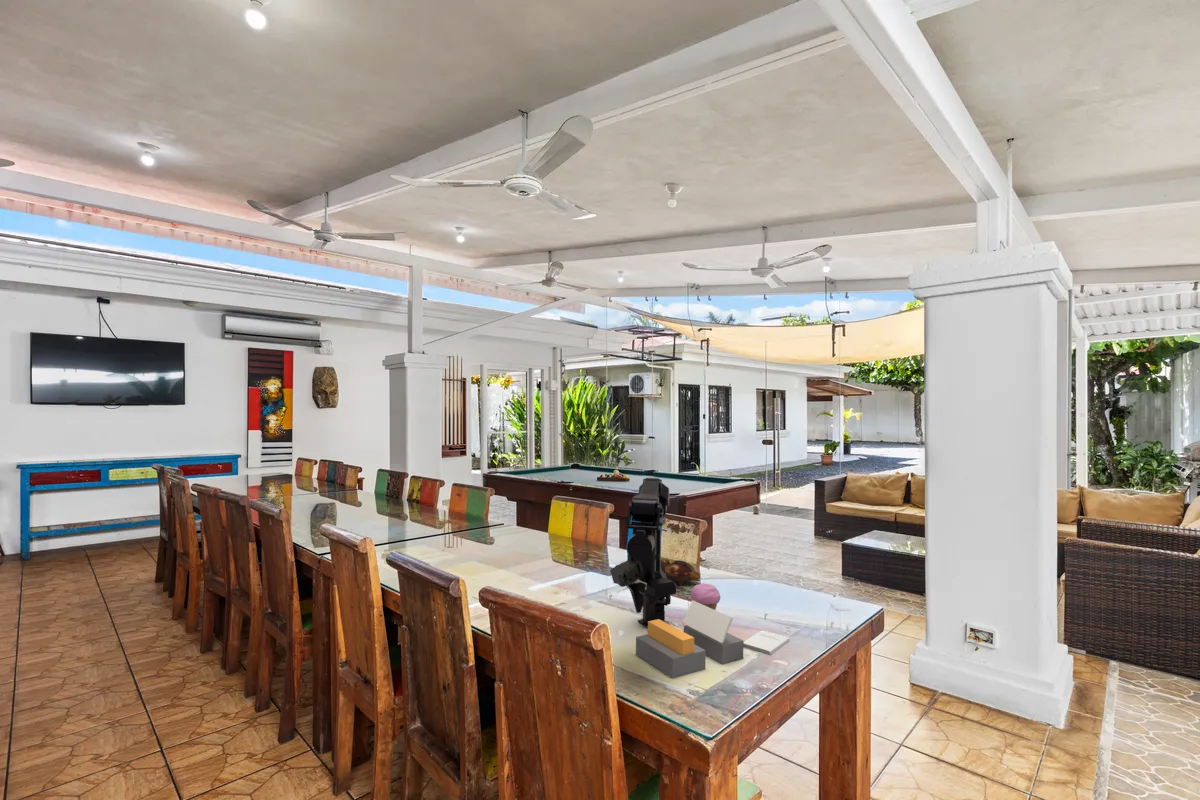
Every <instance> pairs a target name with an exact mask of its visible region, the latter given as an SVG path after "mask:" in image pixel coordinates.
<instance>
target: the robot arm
mask: <svg viewBox="0 0 1200 800" xmlns="http://www.w3.org/2000/svg"><path fill="white" fill-rule="evenodd" d="M642 479H643V480H642V484H640V486H638V494H637V495H634V496H633V497H632V498H631V501H629V503H628V507H627V508H628V509H627V510H628V511H627V518H626V519H627V520H626V529H630V530H631V529H632V534H631V537H630V538H629V540H628V542H627V545H626V551H627V553H628V554H627V558H626V559H627V560H626V561H623V562H620V564H617V565H615V566H614V567H613V568H611V569H610V570H609V572H610V575H611V579H612V582H613V584H617V585H618V586H620V587H622V588H624V587H626V588H627V589H628V590H629V591H630V595H631V597H632V601H633V605H634V609H635V612H636V613H637V614H640V613H642V619H638V621H637V622H638V623H639V624H641V625H643V626H645V627H646V628H648V621H652V620H657V619H660V620H662V621H664V622H665V623H667V624H669V622H667V621H666V620H665V619H666V618H665V617H666V616H665V615H666V613H665V612H666V611H665V606H666V607H667V606H669V605H671V600H672V599H671V595H677V587H678V586H677V583H676V581H675V580H674V581H671V580H669V579H667V578H666V575H665V573H664V572H663V571H662V569H661V559H662V527H663V519H664V517H665V516H666V513H667V510H668V507H670V488H669V487H668V486H666V484H664V483H663V480H662V479H660V478H658V477H646V478H642Z"/></svg>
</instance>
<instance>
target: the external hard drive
mask: <svg viewBox="0 0 1200 800" xmlns="http://www.w3.org/2000/svg"><path fill="white" fill-rule="evenodd" d="M743 641H744V644H743V649H747V650H749V651H754V652H757V653H761V654H763V653H764V654H763V655H767V654H768V655H767V656H772V655H773V654H774V653H776V652H777V651H778V650H780V649H781V648H782V647H784V646H785V645H786V644H788V643H789V642H790V638H789V637H788V636H784V635H780V634H777V633H773V632H770V631H767V630H760V631H758V632H757V633H755V634H753V635H751V636H750V637H749V638H747V639H746V640H743ZM787 642H788V643H787ZM783 645H784V646H783ZM779 648H780V649H779ZM772 653H773V654H772Z"/></svg>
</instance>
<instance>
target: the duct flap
mask: <svg viewBox="0 0 1200 800" xmlns="http://www.w3.org/2000/svg"><path fill="white" fill-rule="evenodd" d="M732 622H733V617H731V616H728V615H726V614H725V613H723V612H720V611H718V610H717V609H716V610H714V609H711V608H709V607H707V606H705V605H702V604H700V603H698V602H696V601H694V600H692V599H691V603H690V605H689V606H688V609H687V612H686V614H685V615H684V618H683V620H682V624H684V626H686V625H687V626H689V627H691V628H693V629H695V630H697V631H699V632H701V633H703V634H705V635H707V636H709V637H711V638H713V639H715V640H717V641H719V642H721V643H723V642H724V639H725V637H726V635H727V633H729V630H730V626H731V624H732Z"/></svg>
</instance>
